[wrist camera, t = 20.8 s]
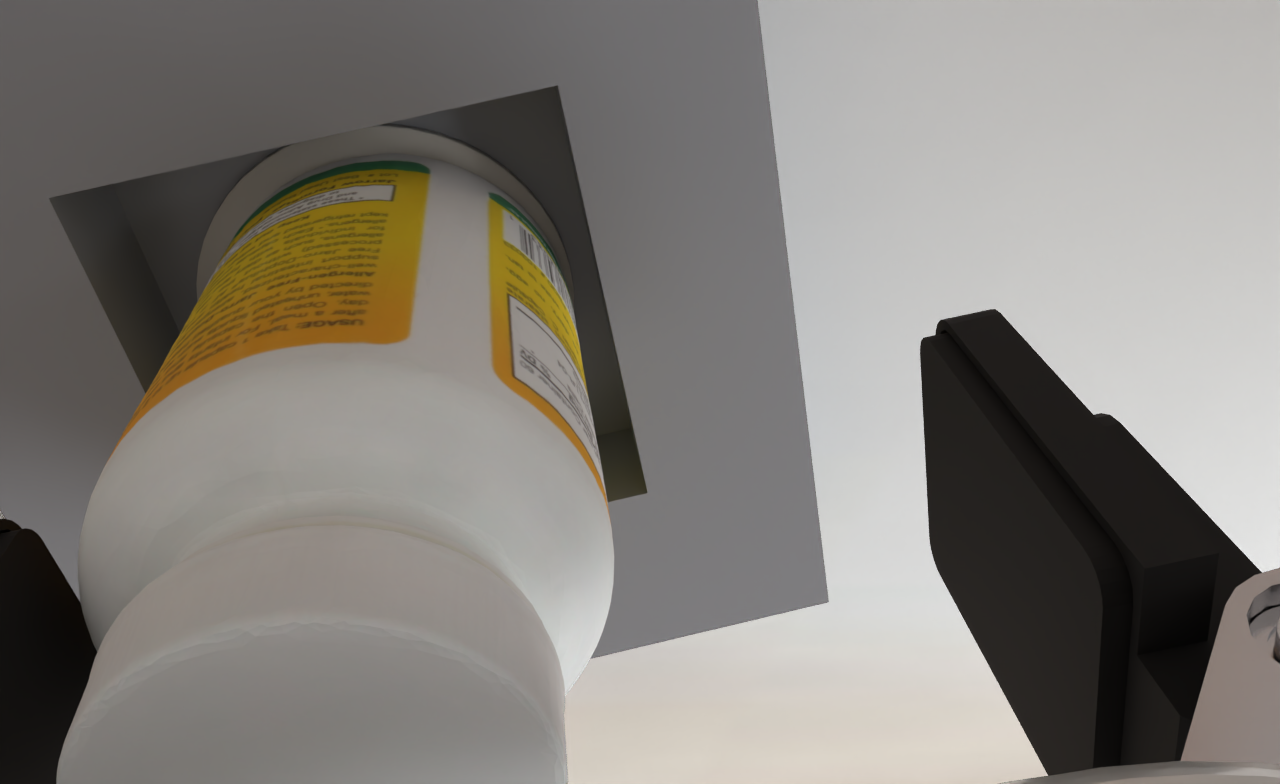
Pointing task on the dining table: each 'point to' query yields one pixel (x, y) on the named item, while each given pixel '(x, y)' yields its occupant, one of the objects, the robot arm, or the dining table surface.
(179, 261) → the block
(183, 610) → the supplement bottle
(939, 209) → the dining table surface
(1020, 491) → the robot arm
